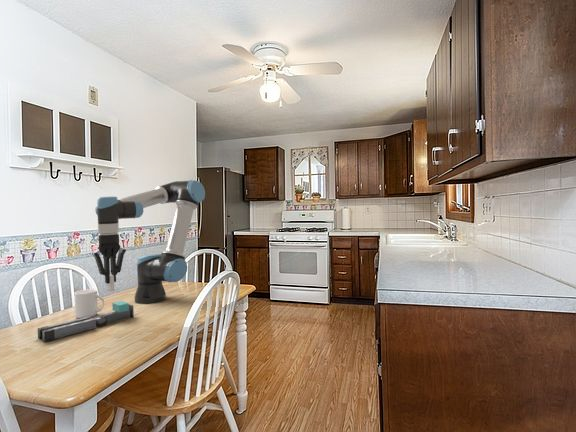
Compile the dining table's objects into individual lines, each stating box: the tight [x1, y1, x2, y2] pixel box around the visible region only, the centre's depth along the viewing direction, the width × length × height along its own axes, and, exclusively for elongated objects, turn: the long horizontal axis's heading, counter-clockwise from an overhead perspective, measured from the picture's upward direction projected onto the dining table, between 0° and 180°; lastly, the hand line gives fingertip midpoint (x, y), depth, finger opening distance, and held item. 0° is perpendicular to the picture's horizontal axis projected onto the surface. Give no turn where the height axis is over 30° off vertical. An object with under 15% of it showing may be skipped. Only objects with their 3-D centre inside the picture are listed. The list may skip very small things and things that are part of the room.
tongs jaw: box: [41, 317, 97, 343], centre depth 128 cm, size 17×3×4 cm, turn 141°
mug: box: [74, 288, 105, 319], centre depth 151 cm, size 9×12×11 cm
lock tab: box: [111, 300, 130, 313], centre depth 145 cm, size 4×6×3 cm, turn 51°
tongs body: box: [37, 303, 135, 340], centre depth 136 cm, size 33×6×5 cm, turn 141°
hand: (111, 290), depth 142 cm, fingers closed
